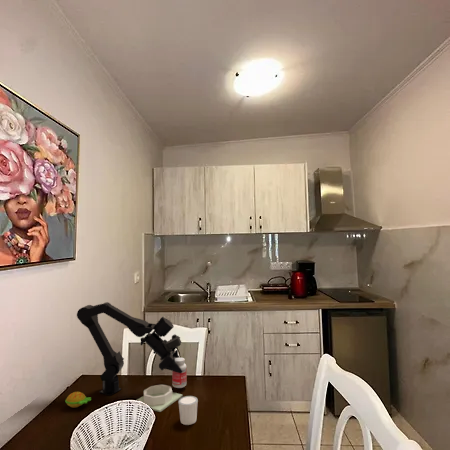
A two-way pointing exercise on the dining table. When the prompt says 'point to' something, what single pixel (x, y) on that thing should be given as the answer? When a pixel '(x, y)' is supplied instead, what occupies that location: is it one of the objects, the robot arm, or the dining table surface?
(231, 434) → the dining table surface
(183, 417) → the shot glass
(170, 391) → the octagonal tray
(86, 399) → the toy pineapple
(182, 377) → the pill bottle
